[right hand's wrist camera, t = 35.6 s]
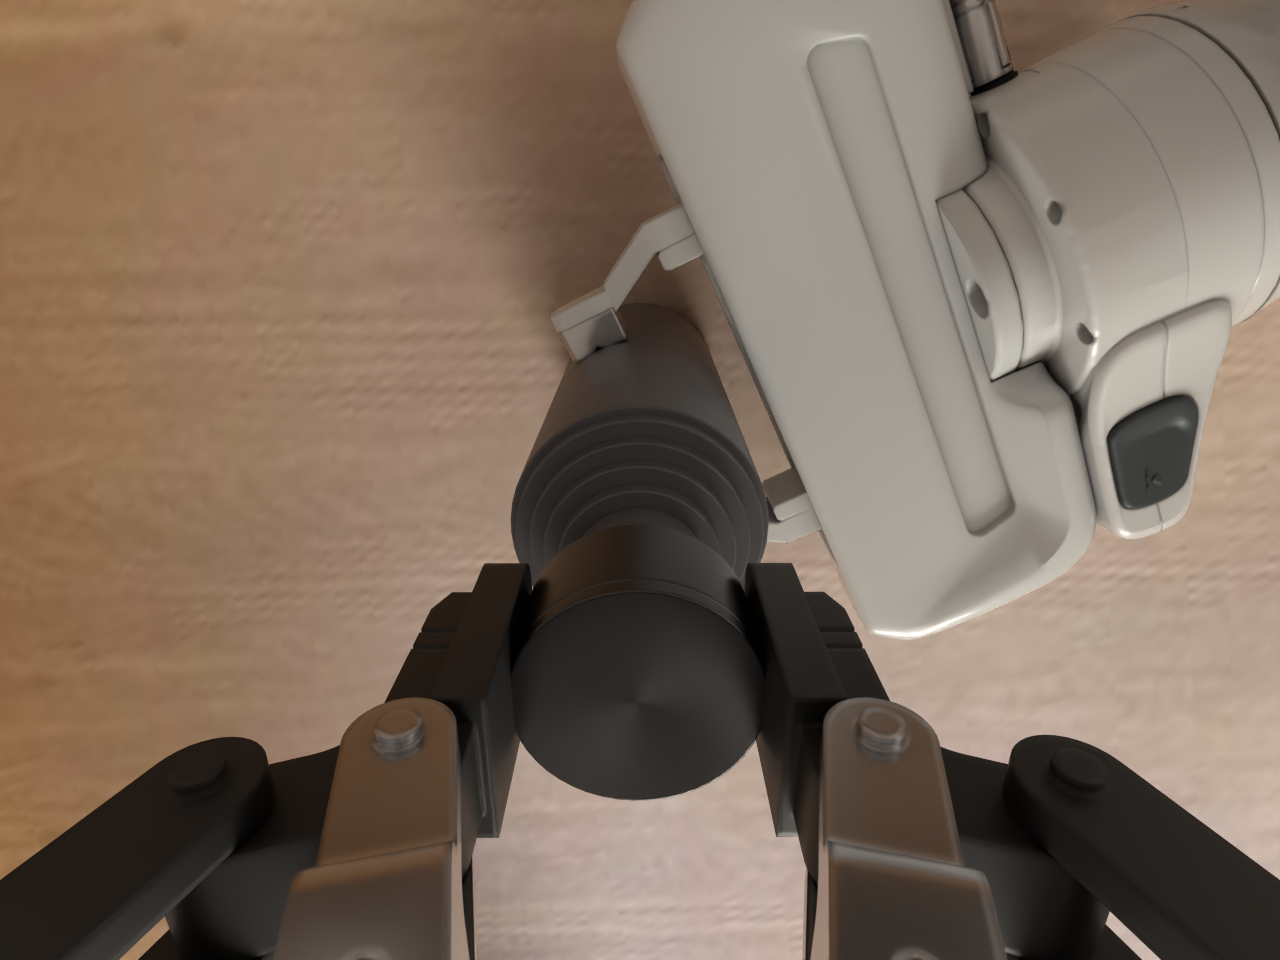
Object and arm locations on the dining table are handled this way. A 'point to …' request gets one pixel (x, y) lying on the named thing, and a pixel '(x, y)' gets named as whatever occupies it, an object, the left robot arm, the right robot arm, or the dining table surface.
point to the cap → (637, 665)
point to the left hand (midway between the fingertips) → (615, 438)
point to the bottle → (641, 450)
